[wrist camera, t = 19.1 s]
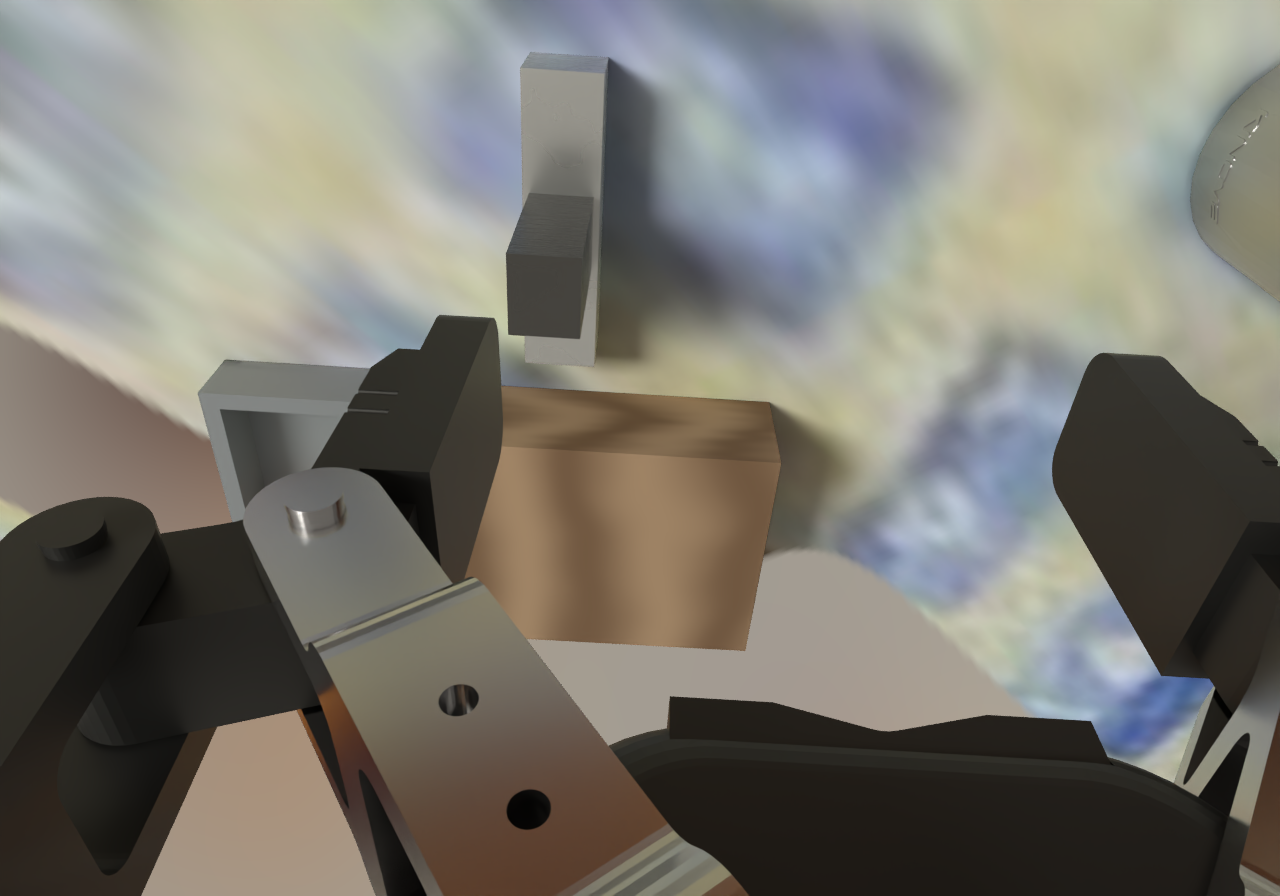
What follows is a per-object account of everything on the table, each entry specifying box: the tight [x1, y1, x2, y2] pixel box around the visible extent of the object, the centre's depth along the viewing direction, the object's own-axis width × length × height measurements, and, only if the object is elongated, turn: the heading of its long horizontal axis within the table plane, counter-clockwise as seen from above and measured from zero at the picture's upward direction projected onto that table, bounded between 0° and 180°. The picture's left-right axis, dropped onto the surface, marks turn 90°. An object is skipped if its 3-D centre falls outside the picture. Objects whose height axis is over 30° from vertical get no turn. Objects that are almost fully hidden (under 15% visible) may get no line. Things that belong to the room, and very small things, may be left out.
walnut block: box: [464, 386, 781, 651], centre depth 43 cm, size 16×12×5 cm
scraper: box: [506, 52, 609, 367], centre depth 33 cm, size 3×12×9 cm, turn 176°
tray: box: [198, 360, 370, 522], centre depth 44 cm, size 10×12×3 cm
